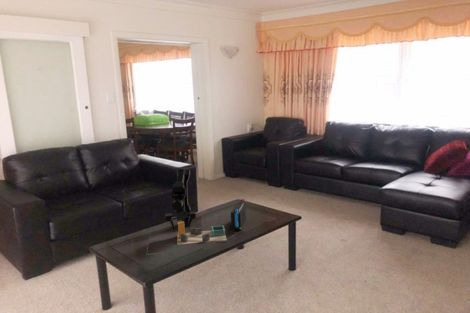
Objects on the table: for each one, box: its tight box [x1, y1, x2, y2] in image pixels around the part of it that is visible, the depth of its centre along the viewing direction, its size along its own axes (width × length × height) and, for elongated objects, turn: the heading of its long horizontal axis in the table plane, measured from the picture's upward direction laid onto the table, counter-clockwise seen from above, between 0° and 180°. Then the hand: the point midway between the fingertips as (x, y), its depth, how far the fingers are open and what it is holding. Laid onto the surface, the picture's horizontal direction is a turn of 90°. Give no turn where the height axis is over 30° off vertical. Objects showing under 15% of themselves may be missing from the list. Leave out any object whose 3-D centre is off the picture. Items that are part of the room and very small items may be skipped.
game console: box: [230, 198, 247, 231], centre depth 250 cm, size 28×6×15 cm, turn 168°
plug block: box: [177, 221, 186, 238], centre depth 232 cm, size 4×4×9 cm
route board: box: [176, 224, 228, 245], centre depth 230 cm, size 17×30×5 cm, turn 98°
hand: (181, 228), depth 232 cm, fingers open, 9 cm apart
